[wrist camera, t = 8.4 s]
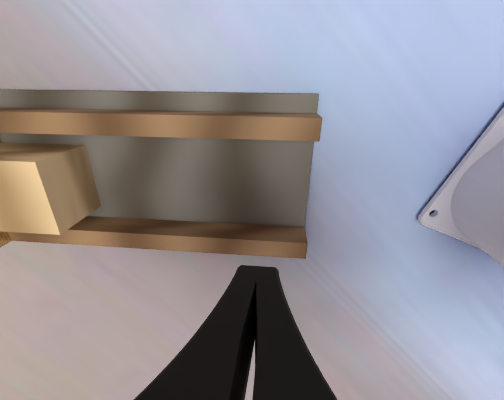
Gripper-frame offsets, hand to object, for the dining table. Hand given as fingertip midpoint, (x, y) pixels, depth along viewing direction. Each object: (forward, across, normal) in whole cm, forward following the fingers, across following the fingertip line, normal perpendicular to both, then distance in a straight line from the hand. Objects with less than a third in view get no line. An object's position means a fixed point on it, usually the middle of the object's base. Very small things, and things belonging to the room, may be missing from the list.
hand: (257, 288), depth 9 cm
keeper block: (+9, +15, -1) cm, 18 cm away
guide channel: (+9, +8, -1) cm, 13 cm away
